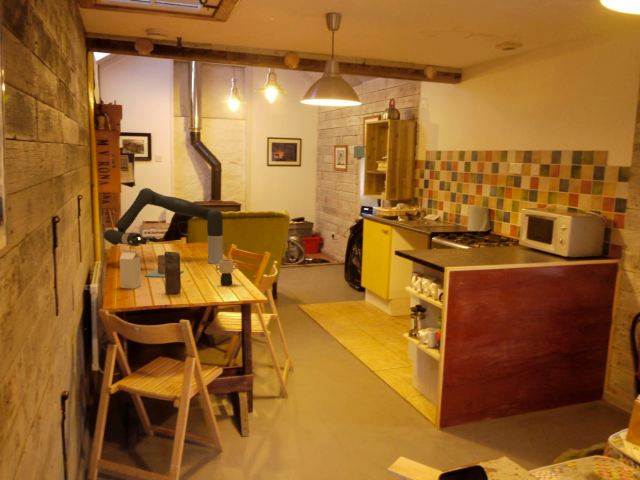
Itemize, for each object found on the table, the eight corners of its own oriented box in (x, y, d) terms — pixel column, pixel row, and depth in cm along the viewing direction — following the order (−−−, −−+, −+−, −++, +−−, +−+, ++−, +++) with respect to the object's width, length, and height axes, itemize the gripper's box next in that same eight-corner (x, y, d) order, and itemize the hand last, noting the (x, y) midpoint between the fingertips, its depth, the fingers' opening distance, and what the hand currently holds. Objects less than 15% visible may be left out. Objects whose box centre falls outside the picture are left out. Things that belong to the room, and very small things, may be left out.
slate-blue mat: (157, 270, 310) (157, 269, 310) (183, 272, 308) (183, 270, 308) (144, 276, 295) (144, 275, 295) (172, 278, 292) (172, 276, 292)
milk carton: (133, 289, 268) (132, 251, 265) (120, 288, 269) (119, 250, 266) (141, 285, 274) (139, 249, 272) (128, 284, 276) (127, 248, 273)
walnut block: (164, 271, 305) (164, 254, 303) (171, 272, 302) (170, 255, 301) (158, 273, 300) (157, 255, 299) (164, 274, 298) (164, 256, 296)
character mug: (236, 282, 285) (235, 258, 283) (237, 285, 278) (237, 261, 276) (215, 283, 282) (214, 259, 280) (216, 286, 275) (216, 261, 273)
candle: (167, 290, 266) (166, 250, 263) (182, 290, 266) (181, 250, 263) (163, 294, 258) (162, 253, 255) (179, 294, 259) (178, 253, 256)
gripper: (121, 234, 305) (141, 236, 297) (141, 231, 317) (160, 233, 309) (122, 247, 306) (142, 249, 298) (141, 243, 318) (161, 245, 310)
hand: (151, 241), depth 304 cm, fingers open, 8 cm apart
